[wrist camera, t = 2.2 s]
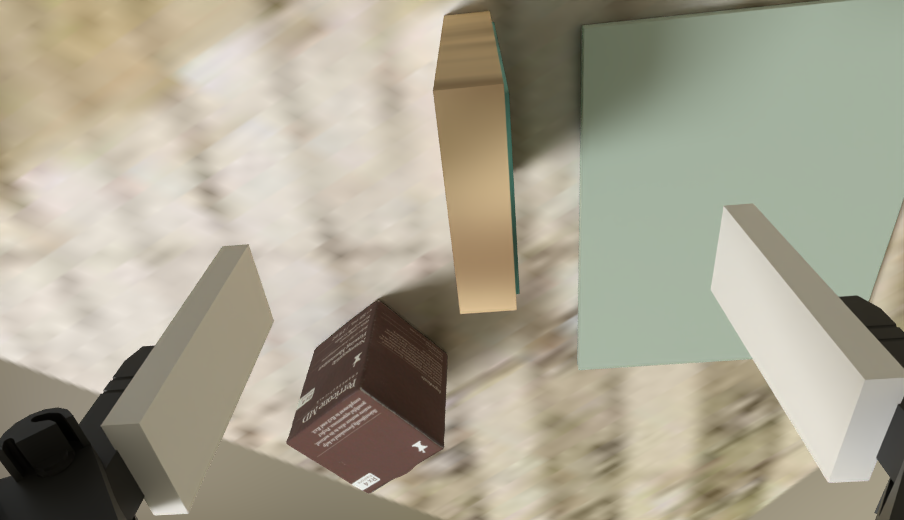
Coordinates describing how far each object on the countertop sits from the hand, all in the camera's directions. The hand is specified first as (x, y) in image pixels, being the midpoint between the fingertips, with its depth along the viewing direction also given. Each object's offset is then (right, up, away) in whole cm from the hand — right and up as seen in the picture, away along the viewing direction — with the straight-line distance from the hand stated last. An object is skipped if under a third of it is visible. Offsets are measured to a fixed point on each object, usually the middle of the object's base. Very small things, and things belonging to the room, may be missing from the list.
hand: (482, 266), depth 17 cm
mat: (+14, +3, +14) cm, 20 cm away
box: (-5, -5, +20) cm, 21 cm away
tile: (0, +8, +11) cm, 14 cm away
